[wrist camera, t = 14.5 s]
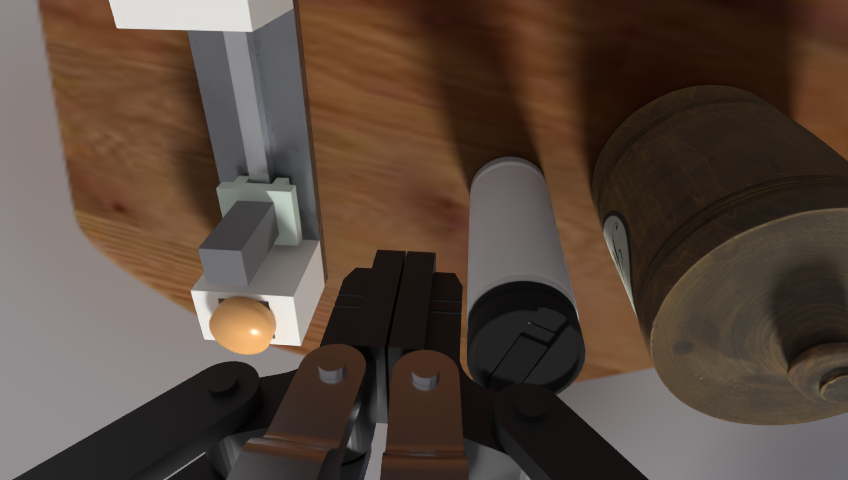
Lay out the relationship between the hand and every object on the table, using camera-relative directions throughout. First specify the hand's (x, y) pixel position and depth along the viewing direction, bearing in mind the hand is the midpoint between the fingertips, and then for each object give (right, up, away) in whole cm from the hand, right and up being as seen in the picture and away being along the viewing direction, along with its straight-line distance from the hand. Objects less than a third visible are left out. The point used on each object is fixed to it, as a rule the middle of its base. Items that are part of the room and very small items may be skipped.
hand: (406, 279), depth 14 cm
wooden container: (+21, +6, +29) cm, 36 cm away
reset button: (-13, -2, +33) cm, 35 cm away
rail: (-13, +9, +30) cm, 34 cm away
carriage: (-13, +4, +31) cm, 34 cm away
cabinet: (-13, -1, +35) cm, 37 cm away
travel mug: (+7, +5, +31) cm, 32 cm away
